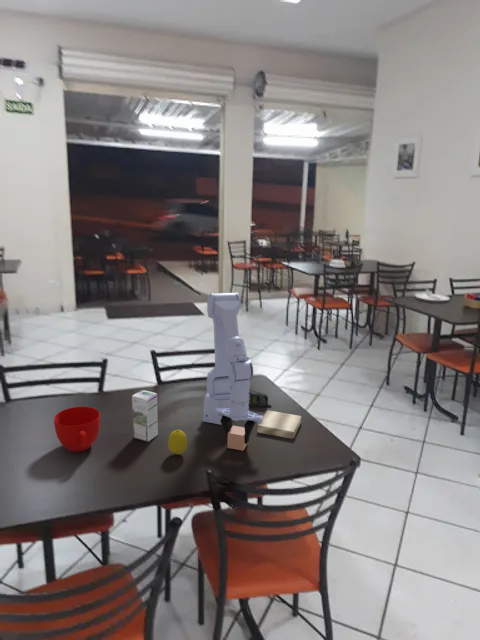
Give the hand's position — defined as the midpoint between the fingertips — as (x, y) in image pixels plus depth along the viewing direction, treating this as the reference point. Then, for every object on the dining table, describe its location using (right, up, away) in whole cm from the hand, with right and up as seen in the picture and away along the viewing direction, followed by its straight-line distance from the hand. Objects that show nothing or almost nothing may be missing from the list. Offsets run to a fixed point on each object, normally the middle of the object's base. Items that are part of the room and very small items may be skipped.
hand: (237, 440), depth 146 cm
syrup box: (-29, 0, +5) cm, 30 cm away
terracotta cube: (0, -2, 0) cm, 2 cm away
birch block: (+14, +1, +14) cm, 19 cm away
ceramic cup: (-47, -2, -4) cm, 47 cm away
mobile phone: (+5, +6, +31) cm, 32 cm away
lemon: (-18, -3, -5) cm, 19 cm away
